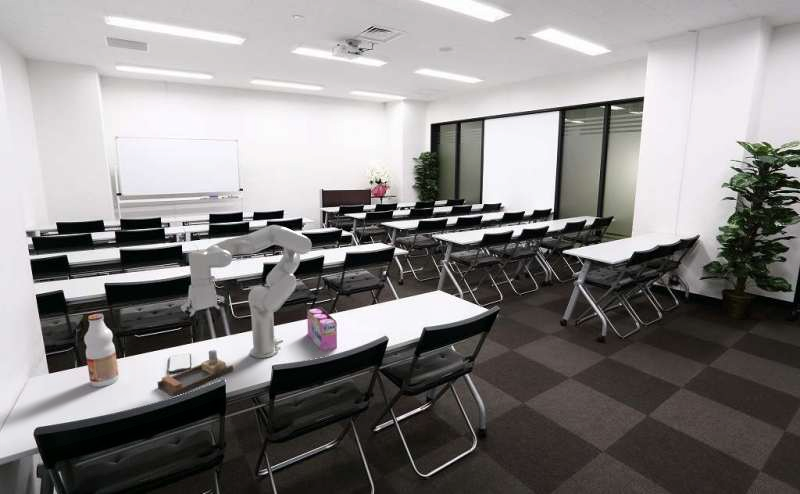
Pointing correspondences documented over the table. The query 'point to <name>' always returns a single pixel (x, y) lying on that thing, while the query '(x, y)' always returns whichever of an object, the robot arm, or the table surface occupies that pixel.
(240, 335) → the table surface
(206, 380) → the slide track
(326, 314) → the pink multipack carton
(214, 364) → the oak slider
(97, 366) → the fruit juice
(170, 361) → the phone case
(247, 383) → the table surface
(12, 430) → the table surface
